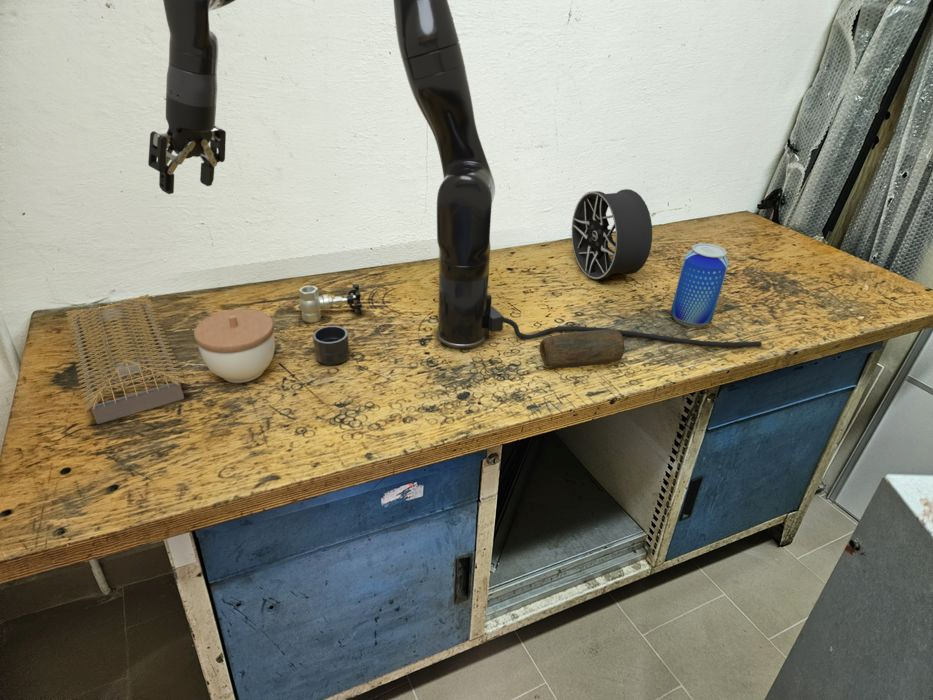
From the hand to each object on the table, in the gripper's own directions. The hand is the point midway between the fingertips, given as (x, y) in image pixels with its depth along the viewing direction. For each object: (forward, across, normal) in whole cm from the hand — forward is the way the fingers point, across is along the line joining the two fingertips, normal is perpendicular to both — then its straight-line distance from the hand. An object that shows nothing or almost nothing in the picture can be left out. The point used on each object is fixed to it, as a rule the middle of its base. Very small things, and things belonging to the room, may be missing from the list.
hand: (187, 188), depth 105 cm
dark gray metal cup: (+18, +1, -36) cm, 40 cm away
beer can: (-1, +49, -90) cm, 102 cm away
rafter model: (+28, -17, -6) cm, 33 cm away
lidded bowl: (+22, -10, -25) cm, 35 cm away
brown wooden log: (+6, +21, -75) cm, 78 cm away
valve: (+19, +14, -26) cm, 35 cm away
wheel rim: (+4, +63, -68) cm, 92 cm away
